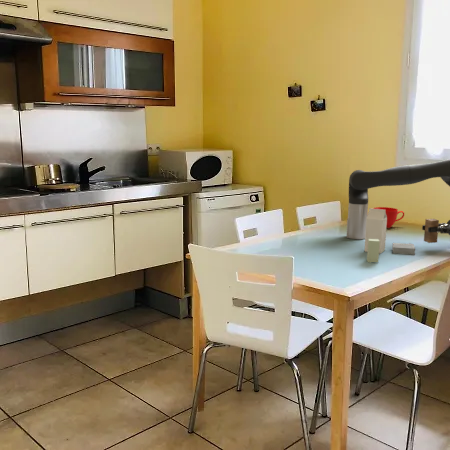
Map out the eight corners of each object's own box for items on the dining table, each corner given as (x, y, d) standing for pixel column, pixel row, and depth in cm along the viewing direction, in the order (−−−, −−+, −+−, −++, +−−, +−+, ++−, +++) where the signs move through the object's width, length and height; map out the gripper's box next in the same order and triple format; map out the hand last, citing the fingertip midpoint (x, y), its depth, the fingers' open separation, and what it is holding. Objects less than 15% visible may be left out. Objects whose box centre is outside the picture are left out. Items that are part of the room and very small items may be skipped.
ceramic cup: (407, 229, 278) (408, 211, 277) (375, 229, 279) (376, 210, 277) (399, 224, 291) (400, 207, 289) (369, 224, 291) (370, 207, 289)
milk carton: (380, 254, 227) (383, 210, 223) (364, 251, 230) (366, 209, 227) (384, 250, 232) (387, 208, 229) (369, 248, 236) (371, 207, 232)
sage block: (368, 262, 213) (369, 240, 211) (366, 259, 217) (368, 238, 215) (378, 262, 212) (379, 241, 211) (376, 260, 216) (378, 239, 214)
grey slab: (392, 254, 228) (393, 247, 228) (392, 249, 237) (392, 242, 236) (414, 255, 226) (415, 248, 225) (413, 250, 234) (413, 244, 234)
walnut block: (428, 242, 231) (430, 220, 229) (423, 240, 235) (425, 219, 233) (437, 242, 232) (438, 220, 230) (431, 240, 235) (433, 218, 233)
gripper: (451, 216, 241) (417, 217, 237) (471, 221, 227) (435, 223, 224) (449, 232, 242) (416, 233, 239) (469, 238, 229) (434, 240, 225)
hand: (425, 228), depth 231 cm, fingers closed on walnut block, 4 cm apart
